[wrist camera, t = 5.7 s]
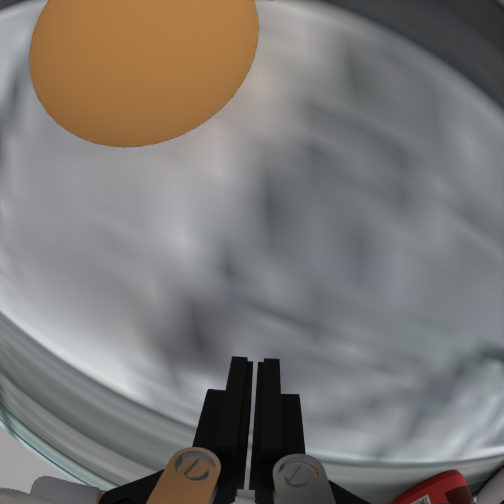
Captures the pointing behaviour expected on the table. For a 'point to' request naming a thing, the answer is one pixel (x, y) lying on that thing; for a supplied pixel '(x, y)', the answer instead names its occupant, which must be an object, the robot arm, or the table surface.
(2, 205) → the table surface
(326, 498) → the robot arm
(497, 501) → the decorative figurine
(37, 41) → the ball
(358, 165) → the table surface
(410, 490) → the canned food
